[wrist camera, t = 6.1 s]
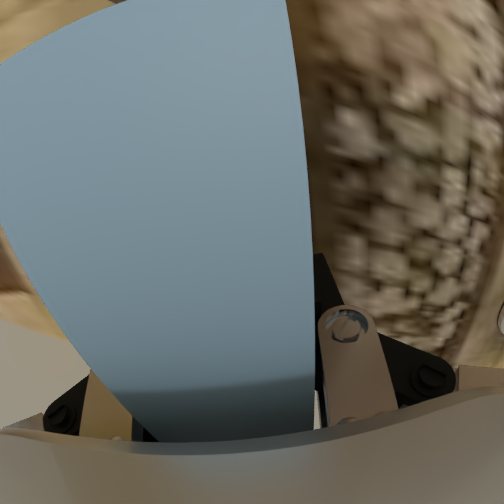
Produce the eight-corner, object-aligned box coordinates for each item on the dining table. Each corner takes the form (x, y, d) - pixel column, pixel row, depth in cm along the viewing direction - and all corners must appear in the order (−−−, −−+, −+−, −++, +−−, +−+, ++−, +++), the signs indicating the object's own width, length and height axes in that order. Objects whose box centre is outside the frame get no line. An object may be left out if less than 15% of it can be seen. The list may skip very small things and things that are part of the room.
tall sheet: (237, 56, 15) (279, -30, 1) (269, 261, 23) (309, 494, 9) (184, 66, 15) (-42, 95, 2) (228, 267, 23) (234, 502, 9)
